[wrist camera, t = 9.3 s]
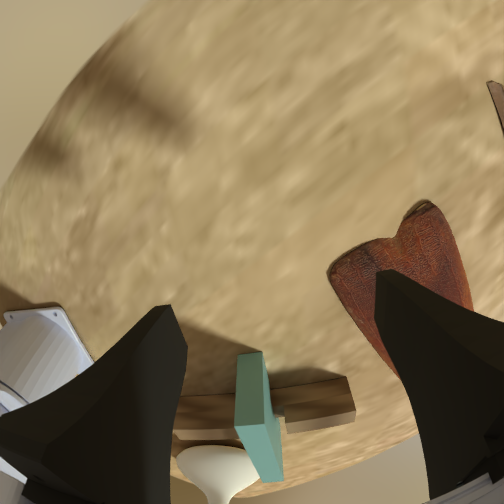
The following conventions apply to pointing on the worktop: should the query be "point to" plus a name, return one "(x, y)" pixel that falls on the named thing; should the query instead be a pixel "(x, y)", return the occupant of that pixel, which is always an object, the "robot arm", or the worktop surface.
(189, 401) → the brown wooden bar
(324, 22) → the worktop surface
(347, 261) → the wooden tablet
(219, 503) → the flower in vase
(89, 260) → the worktop surface
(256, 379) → the teal arch block
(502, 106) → the wooden fragment
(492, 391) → the robot arm
